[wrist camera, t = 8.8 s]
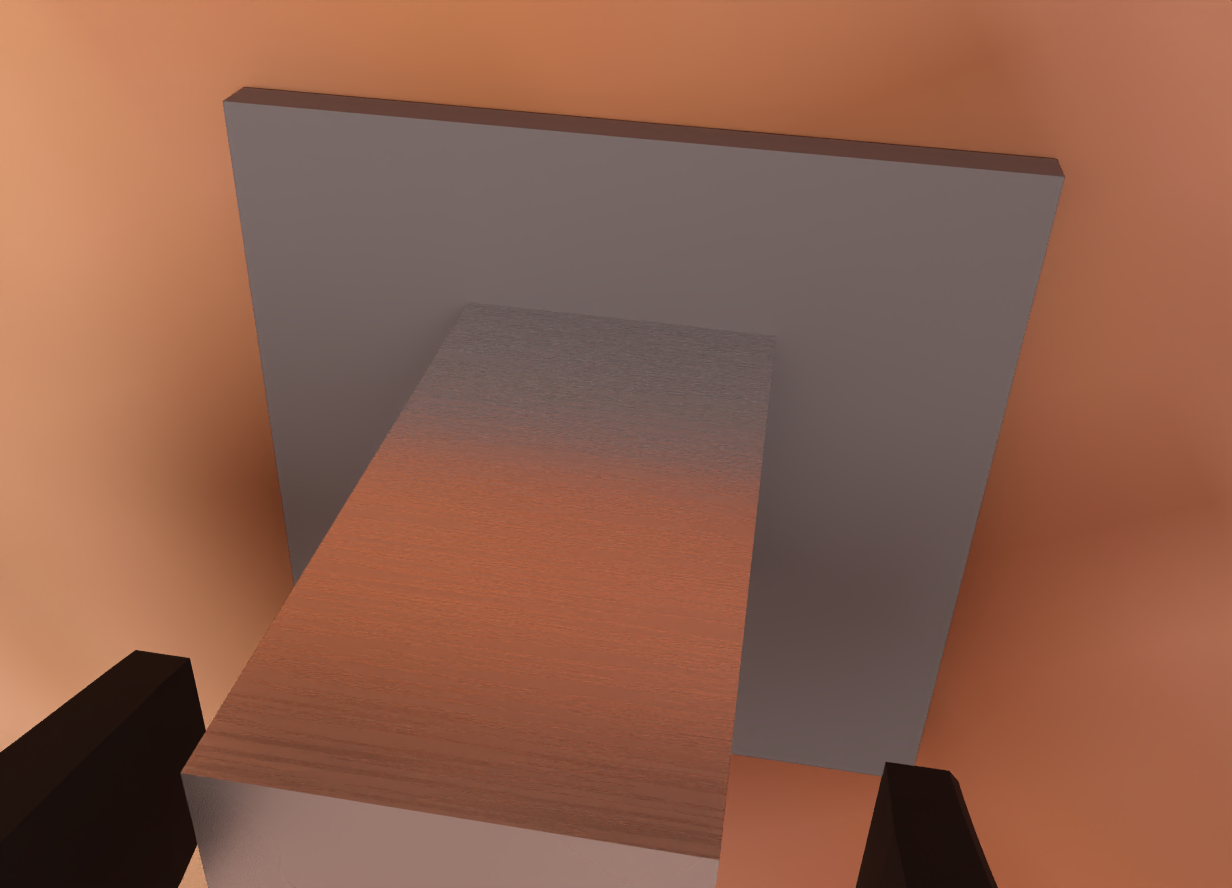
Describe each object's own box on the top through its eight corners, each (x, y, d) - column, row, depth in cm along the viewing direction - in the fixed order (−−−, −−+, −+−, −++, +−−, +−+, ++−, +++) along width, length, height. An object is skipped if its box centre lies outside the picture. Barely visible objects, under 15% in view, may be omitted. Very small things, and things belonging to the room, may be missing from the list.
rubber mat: (1057, 158, 14) (1065, 176, 13) (908, 752, 19) (910, 780, 19) (243, 87, 15) (223, 101, 14) (322, 666, 20) (309, 690, 20)
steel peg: (774, 335, 15) (718, 859, 8) (744, 579, 17) (680, 1148, 10) (468, 301, 15) (180, 773, 9) (476, 543, 18) (251, 1067, 11)
